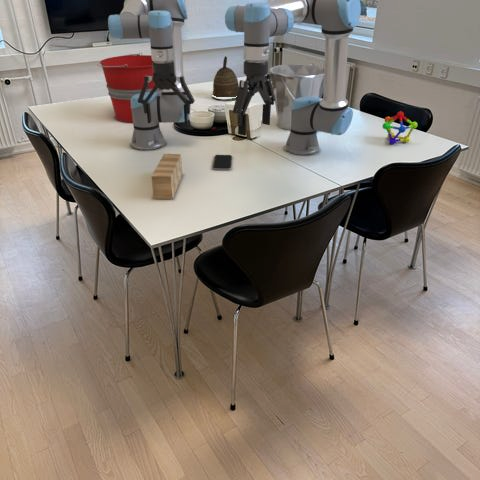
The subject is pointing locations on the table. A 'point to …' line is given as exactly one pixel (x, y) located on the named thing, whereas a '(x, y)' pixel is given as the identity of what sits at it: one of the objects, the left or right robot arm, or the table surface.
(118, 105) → the bucket
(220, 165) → the smartphone
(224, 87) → the bell
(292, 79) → the bucket
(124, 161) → the table surface
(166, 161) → the box
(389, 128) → the educational toy
